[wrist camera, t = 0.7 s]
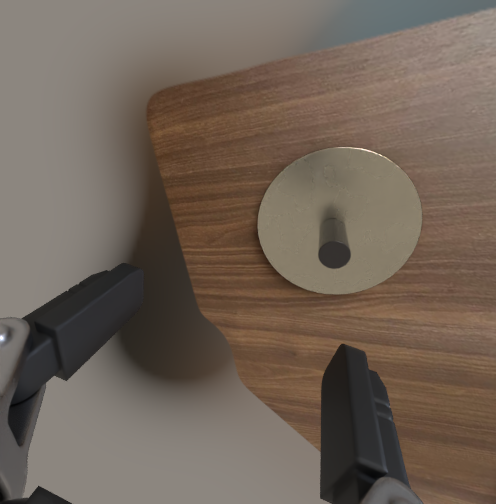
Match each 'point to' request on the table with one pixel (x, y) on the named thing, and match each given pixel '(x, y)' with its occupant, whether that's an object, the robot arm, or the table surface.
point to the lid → (339, 220)
